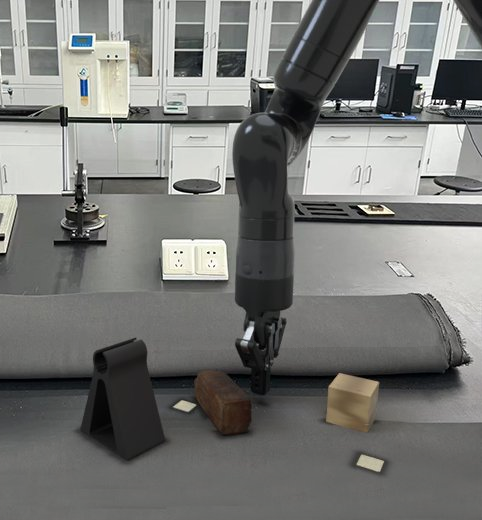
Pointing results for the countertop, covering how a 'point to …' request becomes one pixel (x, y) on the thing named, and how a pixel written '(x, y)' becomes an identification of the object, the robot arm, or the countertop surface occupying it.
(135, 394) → the phone stand
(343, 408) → the birch block
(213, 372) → the brick
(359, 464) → the line marks
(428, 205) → the countertop surface
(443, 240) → the countertop surface
